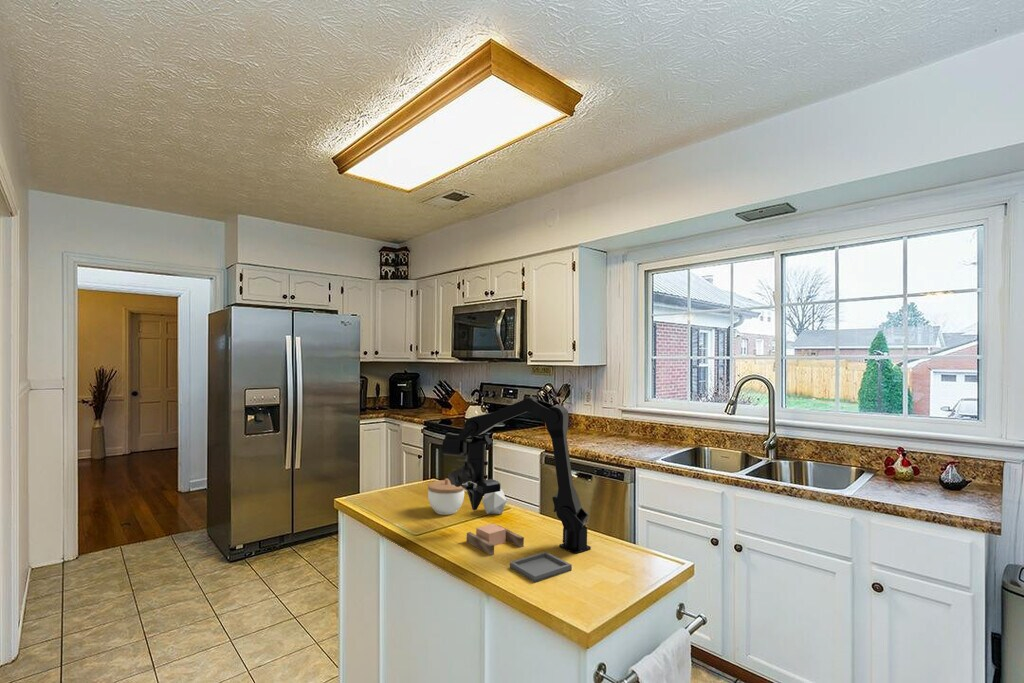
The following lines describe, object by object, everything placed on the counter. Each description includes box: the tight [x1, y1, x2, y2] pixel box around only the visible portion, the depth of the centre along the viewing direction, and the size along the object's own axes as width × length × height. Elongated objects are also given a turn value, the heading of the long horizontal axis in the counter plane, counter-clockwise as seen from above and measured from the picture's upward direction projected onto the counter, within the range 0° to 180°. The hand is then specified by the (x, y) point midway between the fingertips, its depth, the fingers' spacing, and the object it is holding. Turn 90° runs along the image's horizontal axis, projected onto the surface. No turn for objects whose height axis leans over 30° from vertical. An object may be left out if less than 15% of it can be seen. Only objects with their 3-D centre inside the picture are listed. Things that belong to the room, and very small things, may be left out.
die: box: [481, 488, 507, 515], centre depth 171 cm, size 8×9×10 cm
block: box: [475, 523, 507, 547], centre depth 145 cm, size 6×6×4 cm
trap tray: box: [509, 551, 573, 583], centre depth 127 cm, size 10×12×1 cm
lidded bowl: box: [427, 478, 466, 516], centre depth 171 cm, size 13×13×11 cm
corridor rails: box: [466, 525, 525, 556], centre depth 143 cm, size 12×11×2 cm
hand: (474, 509), depth 152 cm, fingers closed
